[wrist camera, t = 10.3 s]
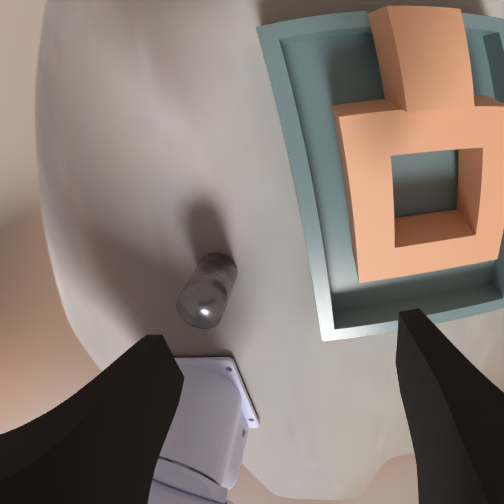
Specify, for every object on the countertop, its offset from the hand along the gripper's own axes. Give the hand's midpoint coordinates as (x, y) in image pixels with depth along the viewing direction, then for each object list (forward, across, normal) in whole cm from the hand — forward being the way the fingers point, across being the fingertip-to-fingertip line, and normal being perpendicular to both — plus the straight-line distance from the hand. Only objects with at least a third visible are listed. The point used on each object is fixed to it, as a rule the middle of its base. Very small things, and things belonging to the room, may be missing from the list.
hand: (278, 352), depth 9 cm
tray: (+9, -7, -2) cm, 12 cm away
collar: (+8, -7, -4) cm, 11 cm away
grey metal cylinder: (+9, +5, +2) cm, 11 cm away
